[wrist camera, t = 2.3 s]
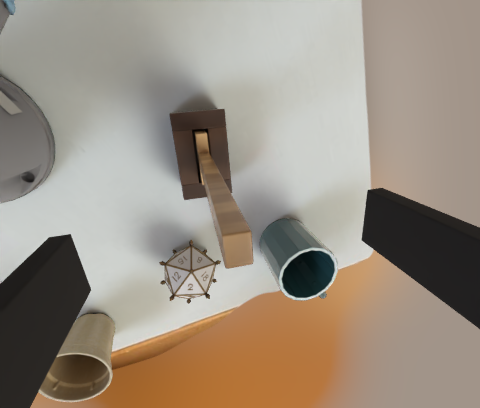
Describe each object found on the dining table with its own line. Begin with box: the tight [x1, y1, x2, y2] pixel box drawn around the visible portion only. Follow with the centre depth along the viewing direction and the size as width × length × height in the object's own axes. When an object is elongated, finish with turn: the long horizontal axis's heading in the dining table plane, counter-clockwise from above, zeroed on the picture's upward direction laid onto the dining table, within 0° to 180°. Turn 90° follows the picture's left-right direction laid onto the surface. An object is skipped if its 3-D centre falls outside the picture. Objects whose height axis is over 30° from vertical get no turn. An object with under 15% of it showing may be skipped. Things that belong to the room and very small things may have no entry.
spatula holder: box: [170, 109, 232, 200], centre depth 32 cm, size 10×6×6 cm, turn 5°
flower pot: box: [38, 313, 115, 402], centre depth 37 cm, size 9×9×9 cm
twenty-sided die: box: [159, 240, 221, 304], centre depth 37 cm, size 9×8×10 cm
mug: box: [260, 218, 338, 300], centre depth 39 cm, size 12×9×10 cm
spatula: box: [194, 129, 253, 269], centre depth 22 cm, size 6×1×26 cm, turn 5°
